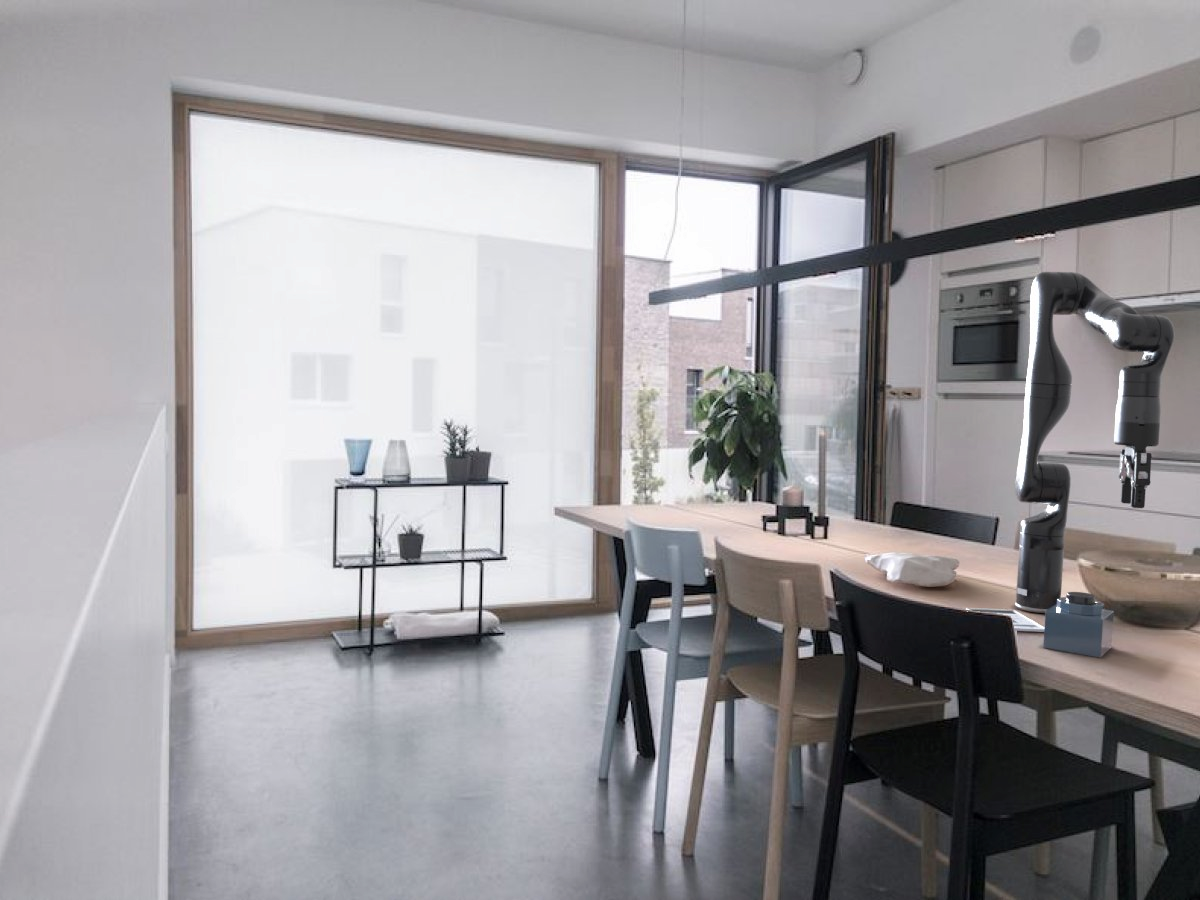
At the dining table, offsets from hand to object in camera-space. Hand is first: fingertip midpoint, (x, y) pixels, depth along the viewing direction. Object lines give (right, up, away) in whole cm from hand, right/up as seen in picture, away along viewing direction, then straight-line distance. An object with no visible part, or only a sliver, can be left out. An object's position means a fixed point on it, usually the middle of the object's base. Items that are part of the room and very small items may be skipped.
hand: (1132, 505), depth 189 cm
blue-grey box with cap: (-10, -27, +1) cm, 29 cm away
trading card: (-15, -26, +22) cm, 37 cm away
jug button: (-9, -19, +1) cm, 21 cm away
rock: (-20, -23, +68) cm, 74 cm away
